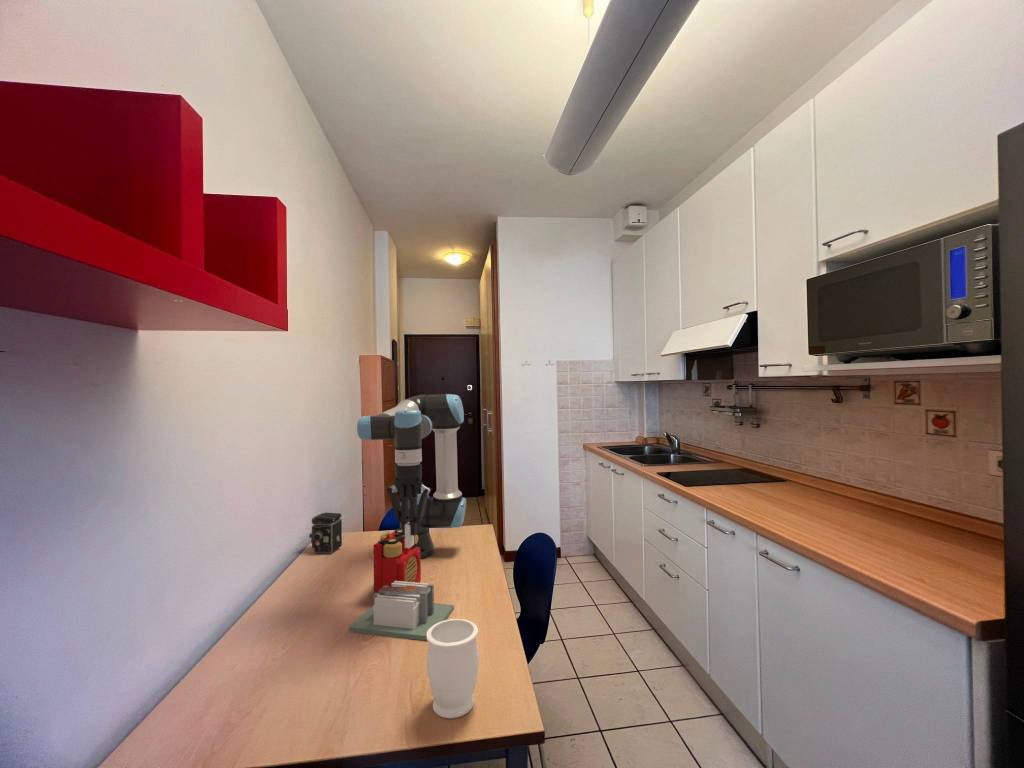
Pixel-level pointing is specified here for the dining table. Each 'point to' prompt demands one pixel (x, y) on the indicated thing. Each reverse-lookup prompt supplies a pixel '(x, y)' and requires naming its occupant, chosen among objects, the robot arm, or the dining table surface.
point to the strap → (404, 590)
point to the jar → (452, 666)
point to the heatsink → (402, 614)
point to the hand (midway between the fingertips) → (409, 546)
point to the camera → (326, 532)
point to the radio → (395, 560)
